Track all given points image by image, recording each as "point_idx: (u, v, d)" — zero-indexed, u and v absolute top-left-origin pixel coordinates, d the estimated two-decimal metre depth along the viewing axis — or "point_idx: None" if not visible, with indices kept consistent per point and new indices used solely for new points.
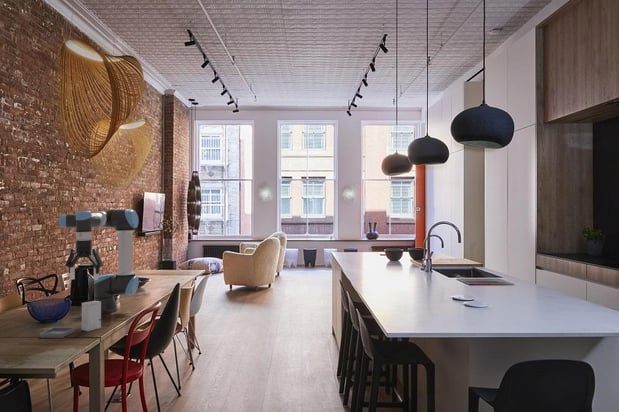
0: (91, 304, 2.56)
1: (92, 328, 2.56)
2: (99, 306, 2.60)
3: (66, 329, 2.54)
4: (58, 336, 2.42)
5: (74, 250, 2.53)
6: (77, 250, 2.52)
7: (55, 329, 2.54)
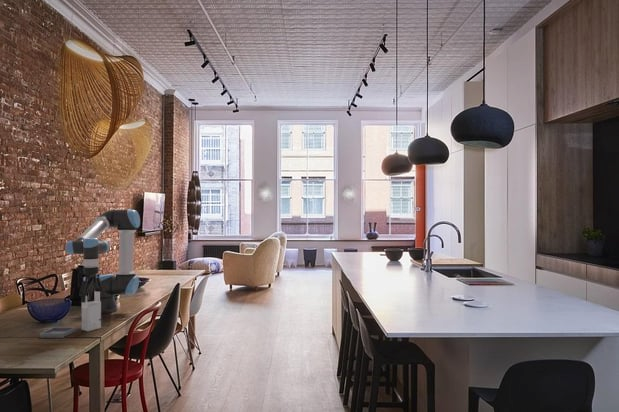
0: (91, 304, 2.56)
1: (92, 328, 2.56)
2: (99, 306, 2.60)
3: (66, 329, 2.54)
4: (58, 336, 2.42)
5: None
6: None
7: (55, 329, 2.54)
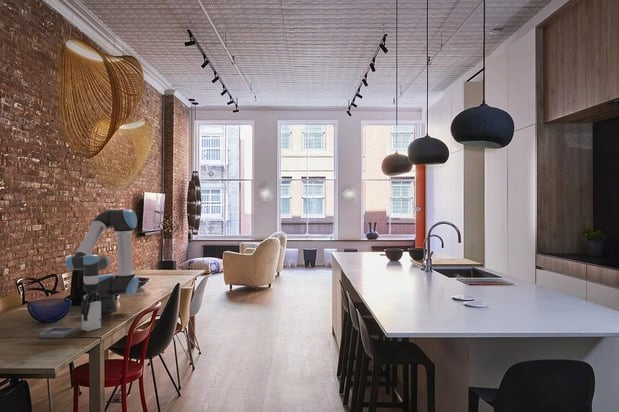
0: (91, 304, 2.56)
1: (92, 328, 2.56)
2: (99, 306, 2.60)
3: (66, 329, 2.54)
4: (58, 336, 2.42)
5: None
6: None
7: (55, 329, 2.54)
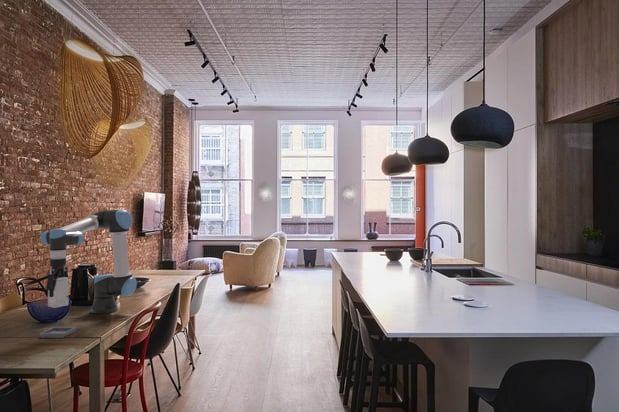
0: (58, 280, 2.45)
1: (59, 305, 2.46)
2: (67, 282, 2.50)
3: (66, 329, 2.54)
4: (58, 336, 2.42)
5: None
6: None
7: (55, 329, 2.54)
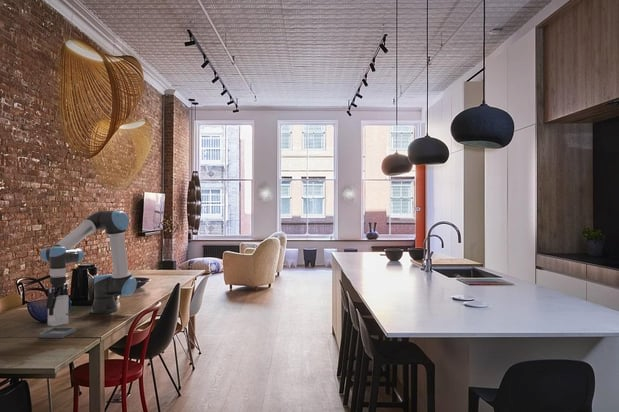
0: (57, 298, 2.45)
1: (58, 323, 2.45)
2: (66, 300, 2.49)
3: (66, 329, 2.54)
4: (58, 336, 2.42)
5: None
6: None
7: (55, 329, 2.54)
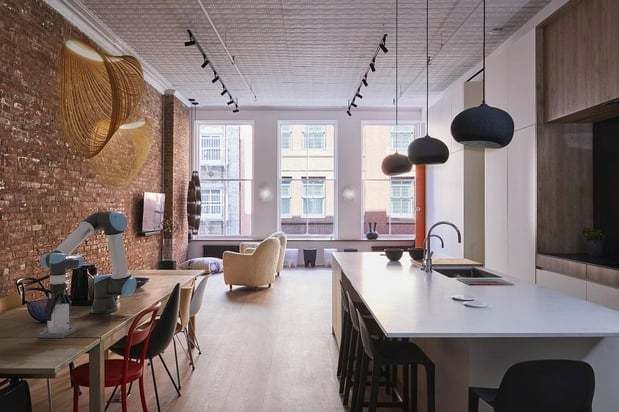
0: (58, 307, 2.46)
1: (59, 332, 2.46)
2: (67, 309, 2.50)
3: None
4: (58, 336, 2.42)
5: None
6: None
7: None
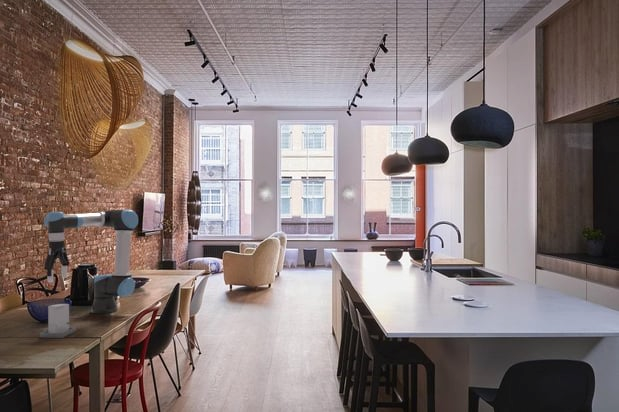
0: (58, 307, 2.46)
1: (59, 332, 2.46)
2: (67, 309, 2.50)
3: None
4: (58, 336, 2.42)
5: None
6: None
7: None
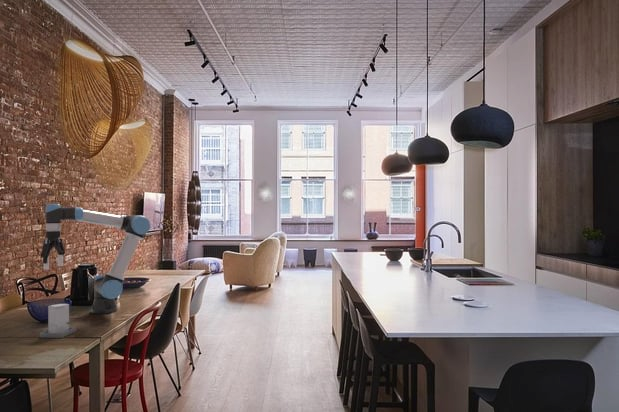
0: (58, 307, 2.46)
1: (59, 332, 2.46)
2: (67, 309, 2.50)
3: None
4: (58, 336, 2.42)
5: None
6: None
7: None
